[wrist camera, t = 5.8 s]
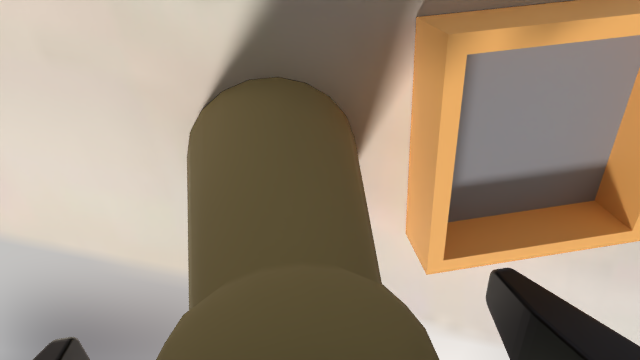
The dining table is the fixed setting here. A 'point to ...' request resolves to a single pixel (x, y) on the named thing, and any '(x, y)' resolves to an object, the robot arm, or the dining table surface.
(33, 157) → the dining table surface
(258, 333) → the olive vase
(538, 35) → the orange square tray
